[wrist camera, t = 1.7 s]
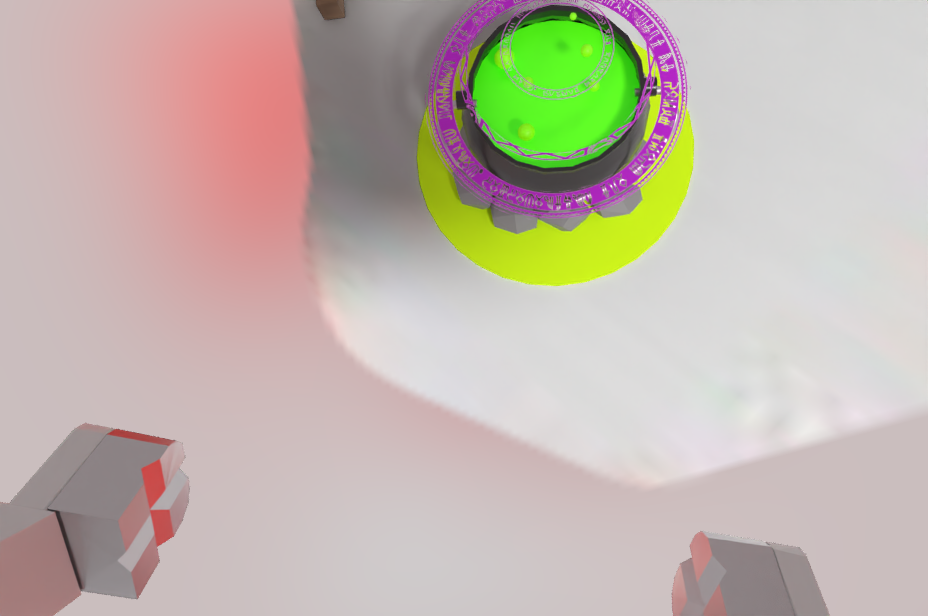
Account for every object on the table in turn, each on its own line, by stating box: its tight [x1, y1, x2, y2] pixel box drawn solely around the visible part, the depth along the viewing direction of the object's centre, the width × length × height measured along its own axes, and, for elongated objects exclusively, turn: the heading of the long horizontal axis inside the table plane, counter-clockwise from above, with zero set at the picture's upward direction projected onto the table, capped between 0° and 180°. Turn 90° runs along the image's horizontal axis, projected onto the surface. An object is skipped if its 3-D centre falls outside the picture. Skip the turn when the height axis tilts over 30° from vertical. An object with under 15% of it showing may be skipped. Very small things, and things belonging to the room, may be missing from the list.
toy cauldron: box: [417, 0, 694, 286], centre depth 31 cm, size 15×15×11 cm
